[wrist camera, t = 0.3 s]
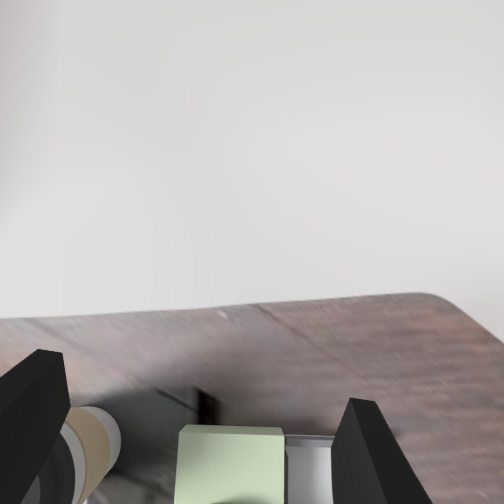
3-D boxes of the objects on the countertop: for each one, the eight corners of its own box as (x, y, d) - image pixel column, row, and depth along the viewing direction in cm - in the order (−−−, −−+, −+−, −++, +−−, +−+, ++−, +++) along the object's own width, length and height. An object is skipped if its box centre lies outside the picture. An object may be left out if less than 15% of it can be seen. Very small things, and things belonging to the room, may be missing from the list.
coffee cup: (44, 392, 38) (-83, 415, 24) (137, 394, 38) (66, 418, 24) (28, 496, 36) (-123, 593, 21) (127, 499, 36) (43, 597, 21)
